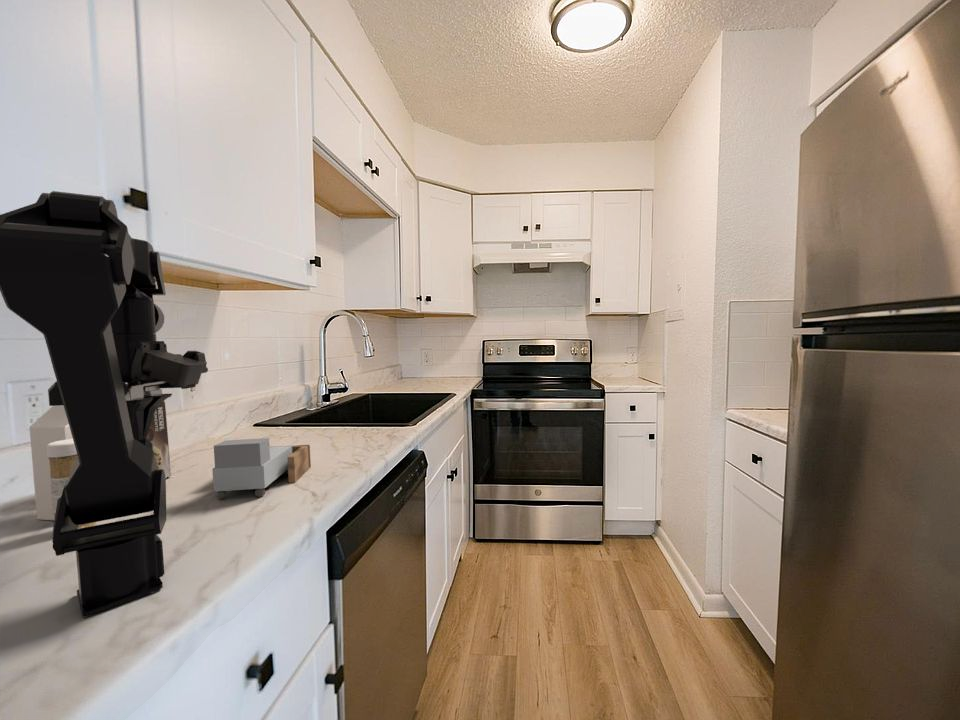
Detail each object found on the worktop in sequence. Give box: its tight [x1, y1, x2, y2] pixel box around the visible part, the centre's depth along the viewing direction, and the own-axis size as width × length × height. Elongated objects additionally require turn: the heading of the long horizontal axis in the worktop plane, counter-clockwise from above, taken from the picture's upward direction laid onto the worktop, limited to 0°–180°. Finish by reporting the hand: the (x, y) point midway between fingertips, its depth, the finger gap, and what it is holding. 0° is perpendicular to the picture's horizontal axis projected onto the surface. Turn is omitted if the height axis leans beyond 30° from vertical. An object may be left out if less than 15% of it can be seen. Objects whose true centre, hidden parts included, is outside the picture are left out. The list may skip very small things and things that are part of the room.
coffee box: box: [146, 400, 172, 479], centre depth 82 cm, size 9×6×16 cm
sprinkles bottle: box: [47, 439, 97, 529], centre depth 62 cm, size 5×5×14 cm
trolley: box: [212, 437, 293, 500], centre depth 79 cm, size 15×8×10 cm, turn 6°
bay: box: [276, 444, 312, 484], centre depth 84 cm, size 10×14×5 cm
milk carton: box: [29, 405, 73, 521], centre depth 69 cm, size 7×7×19 cm
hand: (137, 447), depth 57 cm, fingers closed
